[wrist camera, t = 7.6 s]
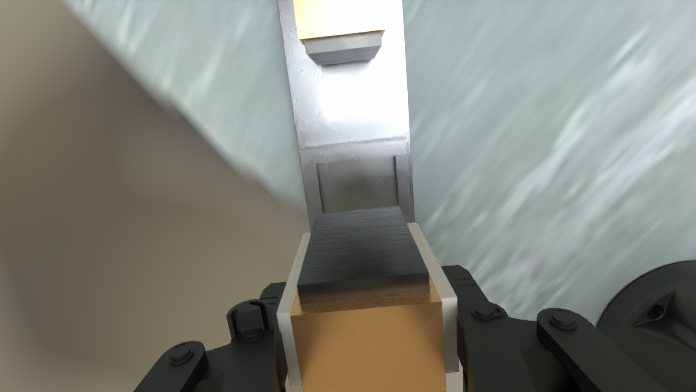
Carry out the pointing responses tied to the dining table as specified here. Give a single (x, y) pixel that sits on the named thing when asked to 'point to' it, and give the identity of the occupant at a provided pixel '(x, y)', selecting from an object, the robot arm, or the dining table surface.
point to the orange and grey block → (367, 308)
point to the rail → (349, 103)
